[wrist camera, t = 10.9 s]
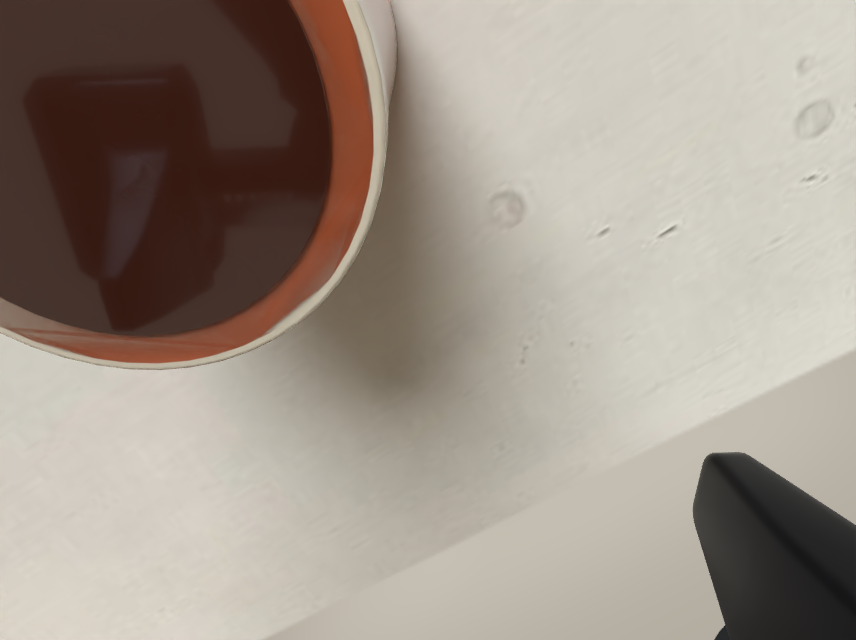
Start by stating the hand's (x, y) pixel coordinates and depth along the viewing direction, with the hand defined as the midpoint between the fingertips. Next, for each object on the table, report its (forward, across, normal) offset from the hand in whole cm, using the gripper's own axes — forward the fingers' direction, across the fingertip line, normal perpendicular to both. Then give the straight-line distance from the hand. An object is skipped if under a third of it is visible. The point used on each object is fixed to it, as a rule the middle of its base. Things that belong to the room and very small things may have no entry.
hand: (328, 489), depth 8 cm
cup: (+7, +3, 0) cm, 8 cm away
